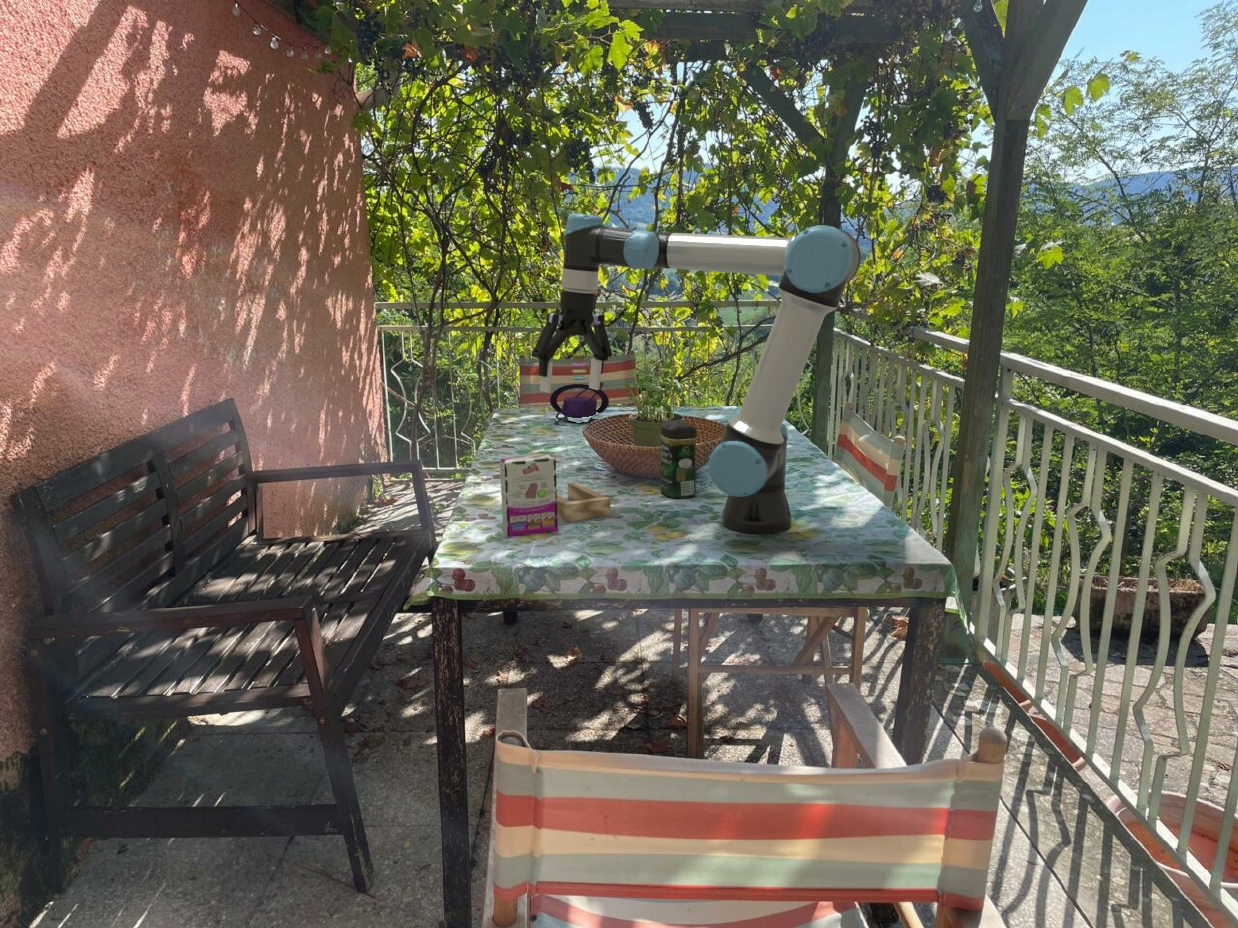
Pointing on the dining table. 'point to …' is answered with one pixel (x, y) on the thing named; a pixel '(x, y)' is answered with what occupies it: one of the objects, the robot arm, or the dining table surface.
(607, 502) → the frame
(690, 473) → the coffee jar
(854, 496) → the dining table surface
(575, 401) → the purple handbag
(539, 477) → the candy bar box
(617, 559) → the dining table surface
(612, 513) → the mat
